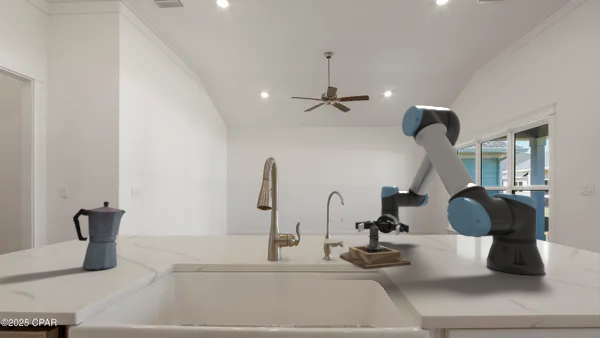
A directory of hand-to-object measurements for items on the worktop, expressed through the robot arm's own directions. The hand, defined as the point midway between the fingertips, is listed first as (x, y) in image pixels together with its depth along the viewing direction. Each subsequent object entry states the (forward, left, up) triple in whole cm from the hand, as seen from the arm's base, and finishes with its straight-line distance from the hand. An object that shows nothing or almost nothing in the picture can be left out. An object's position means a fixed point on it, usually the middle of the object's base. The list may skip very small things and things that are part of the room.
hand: (377, 229), depth 118 cm
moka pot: (+14, +90, -10) cm, 92 cm away
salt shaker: (-5, +5, -9) cm, 11 cm away
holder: (-5, +5, -9) cm, 12 cm away
